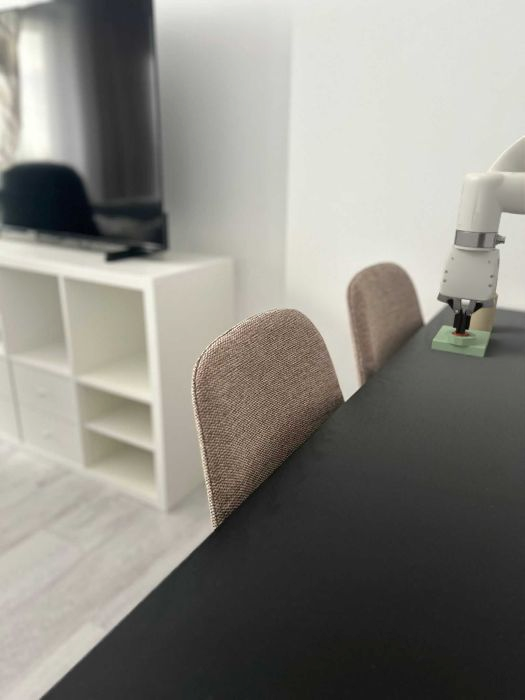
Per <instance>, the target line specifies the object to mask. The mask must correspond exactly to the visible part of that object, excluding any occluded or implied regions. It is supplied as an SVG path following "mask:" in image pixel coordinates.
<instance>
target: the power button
mask: <svg viewBox="0 0 525 700" xmlns="http://www.w3.org/2000/svg"><path fill="white" fill-rule="evenodd" d="M455 332H456V331H454V334H453V335H456V336H461V337H467V336H468V332H466V331H465V333H464V335H463V334H460V333H458V334H456V333H455Z"/></svg>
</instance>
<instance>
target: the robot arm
mask: <svg viewBox="0 0 525 700" xmlns="http://www.w3.org/2000/svg"><path fill="white" fill-rule="evenodd" d="M459 198H460V199H459V205H458V213H457V220H456V225H455V231H454V240H453V244H451V245H449V248H448V250H447V253H446V257H445V260H444V263H443V268H442V273H441V278H440V284H439V292H438V294H437V297H436V300H437V301H438V302H441V303H444V304H447V305H448V306H449V308H450V309H451V310H452V312H453V313H454V319H453V322H452V323H453V325H452V327H453V328H456V332H455V333H456V334H458V333H460V334H463V335H464V333H465V331H466V330H469V327H470V321H471V315H472V314H473V313H475V312H476V311H478V310H479V309H481V308H491V307H494V305H495V301H494V295H495V292H496V293H497V286H498V278H499V271H500V260H501V259H500V258H501V257H500V255H501V254H500V248H496V246H498V245H501V244H503V245H505V242H506V237H507V236H503V235H500V234H499V229H500V224H501V218H502V214H503V213H506V214H511V215H521V216H522V215H523V216H524V215H525V134H523V135H522V136H521V137H520V138H518V139H517V140H516V141H514V142H513V143H512V144H510V145H509V146H508V147H507V148H506V149H505V150H504V151H503V152H501V153H500V155H499V156H497V158H496V159H495V161H494V162H493V163H492V164H491V166H490V167H489V168H488V169H487V171H485V172H484V171H483V172H482V171H474V172H469V173H467V174H466V175H465V176H464V177H463V180H462V185H461V191H460V197H459ZM463 300H464V301H465V300H466V301H469V302H468V305H467V308H466V309H465V310H464V309H463ZM477 301H479V302H477ZM463 310H464V311H463Z"/></svg>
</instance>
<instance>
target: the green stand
mask: <svg viewBox="0 0 525 700" xmlns="http://www.w3.org/2000/svg"><path fill="white" fill-rule="evenodd" d="M454 331H456V328H453V325H452V326H450V325H446V324H445V325H444V324H443V325H442V326H441V328H440V329H439V331H438V332H437V333H436V335H435V336H434V337H433V339H432V342H431V350H437V351H443V352H447V353H448V352H449V353H454V354H461V355H468V356H471V357H472V356H474V357H478V358H484V357H485V354H486V351H487V348H488V345H489V342H490V338H491V333H492V331H491V332H487V331H480V330H473V329H469V330H466V332H468V336H467V337H461V336H456V335H453V334H454Z"/></svg>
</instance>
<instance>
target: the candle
mask: <svg viewBox="0 0 525 700" xmlns="http://www.w3.org/2000/svg"><path fill="white" fill-rule="evenodd" d="M498 299H499V294H498V293H497V291H496V292H495V295H494V301H495V305H494V307H491V308H481V309H479V310H478V311H476V312H475V313H473V314H472V315H471V321H470V327H469V329H473V330H480V331H487V332H491V333H492V331H493V327H494V321H495V317H496V310H497V305H498ZM477 302H479V301H477Z"/></svg>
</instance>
